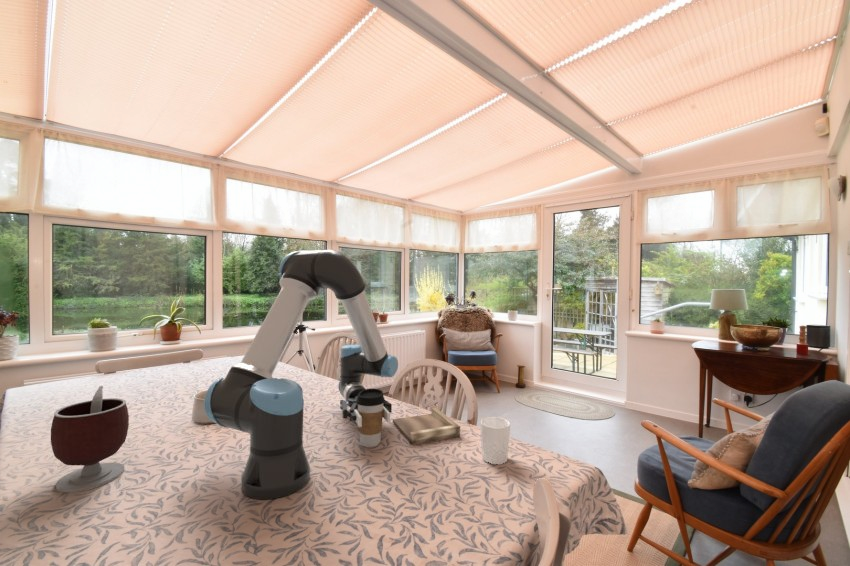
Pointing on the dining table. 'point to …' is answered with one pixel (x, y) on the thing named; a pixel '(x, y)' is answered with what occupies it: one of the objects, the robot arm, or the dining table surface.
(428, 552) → the dining table surface
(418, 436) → the wooden tray
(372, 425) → the coffee cup
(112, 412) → the mate gourd
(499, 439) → the white cup
